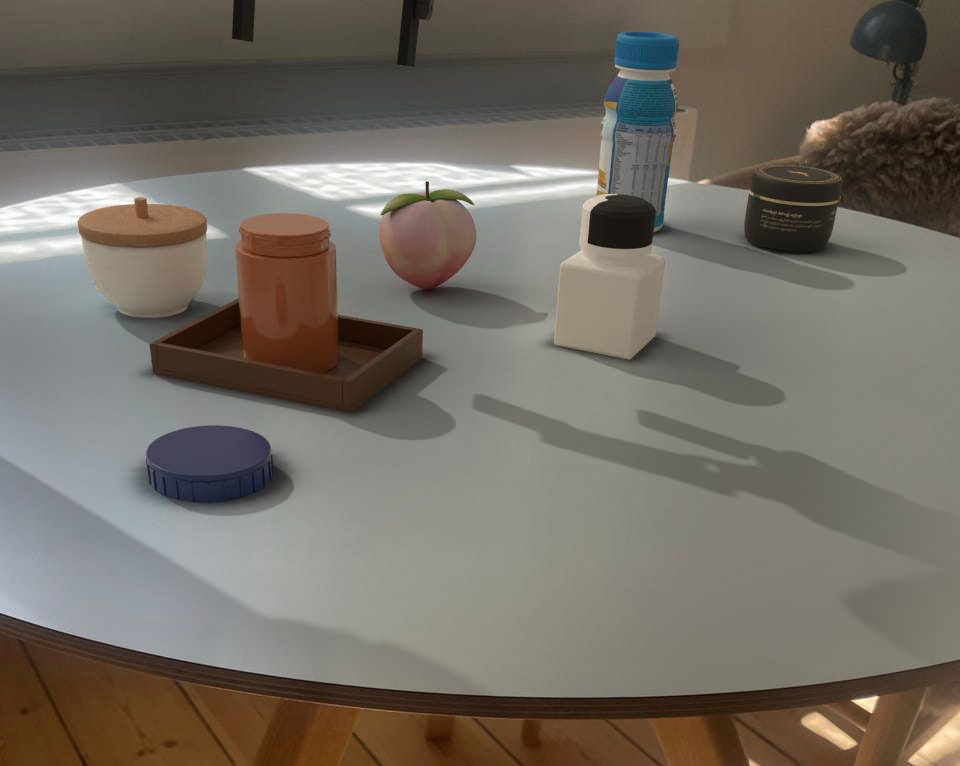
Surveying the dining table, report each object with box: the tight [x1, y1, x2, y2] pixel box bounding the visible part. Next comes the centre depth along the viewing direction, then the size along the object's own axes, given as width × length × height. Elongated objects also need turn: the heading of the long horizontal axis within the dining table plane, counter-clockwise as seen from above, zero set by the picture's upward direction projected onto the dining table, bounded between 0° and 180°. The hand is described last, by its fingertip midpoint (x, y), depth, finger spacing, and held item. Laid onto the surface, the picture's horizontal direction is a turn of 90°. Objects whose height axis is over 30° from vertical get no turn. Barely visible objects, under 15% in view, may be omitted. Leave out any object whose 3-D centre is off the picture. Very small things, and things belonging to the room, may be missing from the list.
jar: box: [743, 164, 843, 255], centre depth 129 cm, size 10×10×8 cm
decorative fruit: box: [378, 180, 478, 291], centre depth 109 cm, size 9×8×10 cm
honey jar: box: [234, 212, 339, 373], centre depth 90 cm, size 8×8×11 cm
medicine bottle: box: [553, 194, 666, 360], centre depth 98 cm, size 7×7×12 cm
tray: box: [149, 297, 424, 414], centre depth 92 cm, size 17×13×2 cm
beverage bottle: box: [595, 31, 680, 233], centre depth 130 cm, size 8×8×20 cm
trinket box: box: [77, 196, 208, 319], centre depth 101 cm, size 11×11×9 cm
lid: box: [145, 424, 274, 503], centre depth 75 cm, size 8×8×2 cm
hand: (323, 53), depth 92 cm, fingers open, 13 cm apart
